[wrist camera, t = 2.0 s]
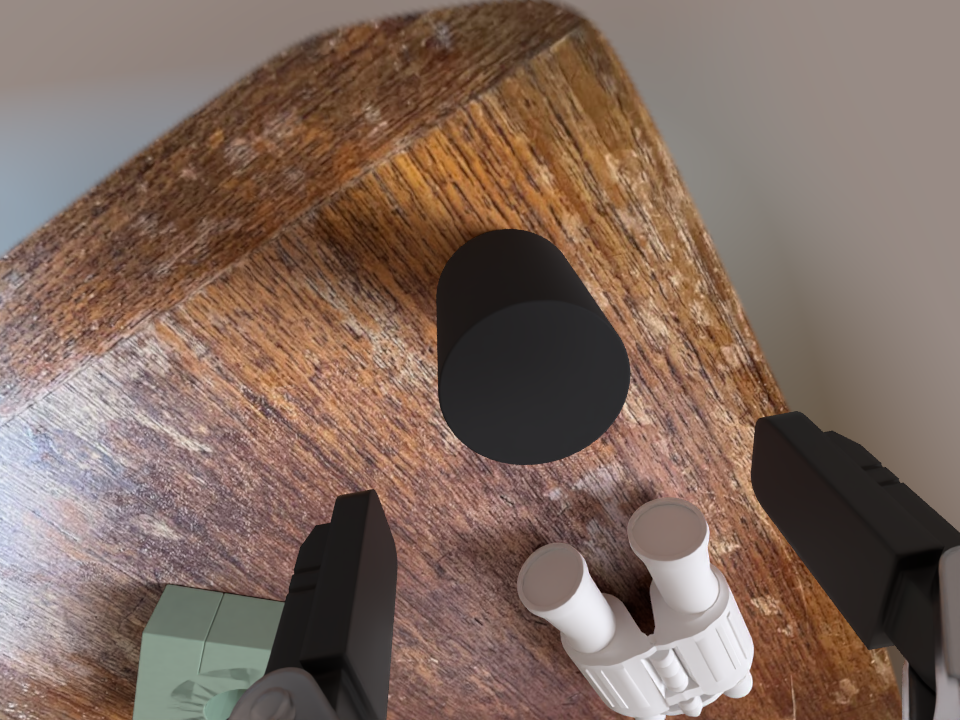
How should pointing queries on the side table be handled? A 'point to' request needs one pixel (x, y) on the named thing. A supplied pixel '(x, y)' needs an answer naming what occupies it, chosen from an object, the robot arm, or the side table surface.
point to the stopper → (524, 351)
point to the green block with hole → (202, 653)
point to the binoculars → (677, 615)
